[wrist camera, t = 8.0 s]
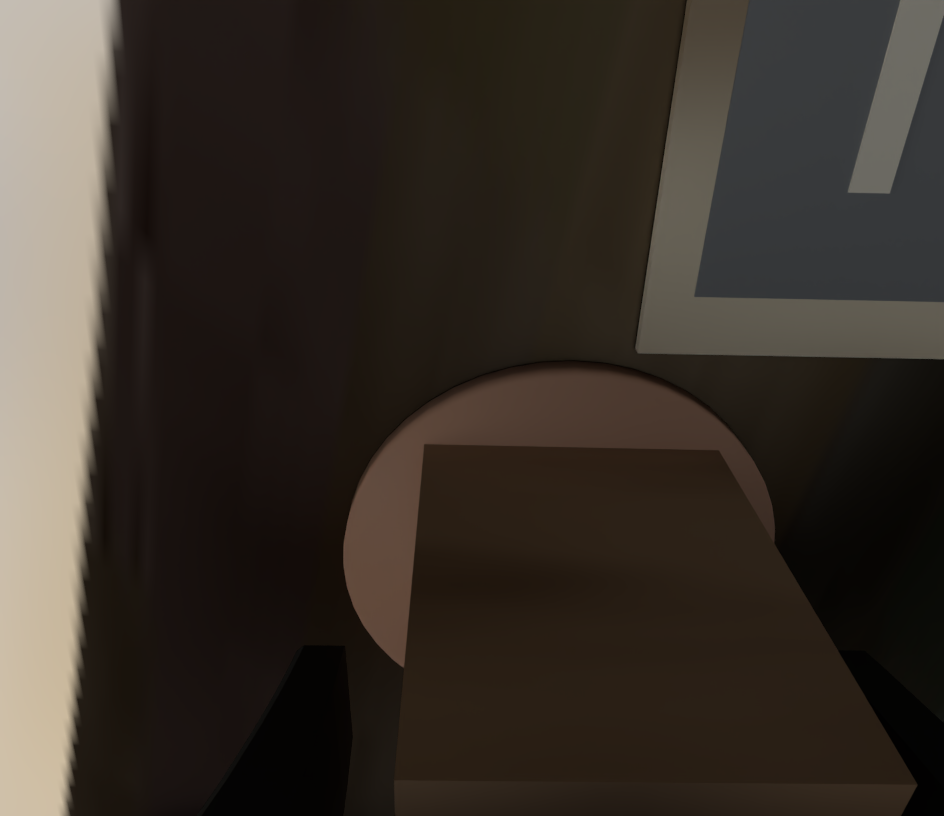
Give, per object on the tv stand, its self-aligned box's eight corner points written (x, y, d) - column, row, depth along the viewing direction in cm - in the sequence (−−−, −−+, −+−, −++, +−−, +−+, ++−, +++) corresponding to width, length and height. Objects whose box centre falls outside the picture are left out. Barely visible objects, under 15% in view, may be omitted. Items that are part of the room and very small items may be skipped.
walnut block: (670, 657, 14) (789, 1023, 9) (424, 654, 14) (401, 1024, 9) (718, 450, 12) (918, 784, 7) (423, 444, 12) (394, 780, 7)
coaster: (718, 689, 16) (727, 713, 15) (358, 686, 16) (355, 710, 15) (810, 365, 12) (826, 381, 11) (333, 356, 12) (327, 372, 11)
